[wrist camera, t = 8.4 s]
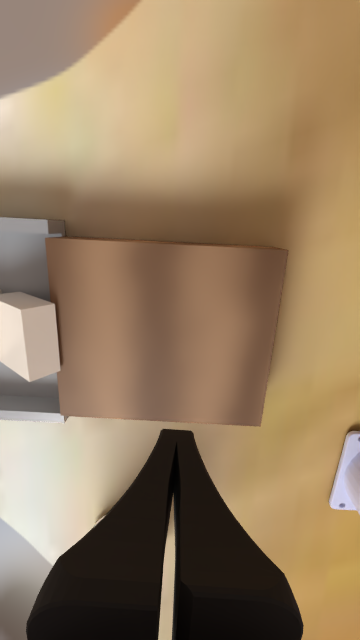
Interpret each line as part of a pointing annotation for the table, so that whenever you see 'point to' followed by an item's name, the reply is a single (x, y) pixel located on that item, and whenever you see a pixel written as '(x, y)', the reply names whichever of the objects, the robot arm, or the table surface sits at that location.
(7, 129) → the table surface
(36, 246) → the tray
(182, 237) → the table surface
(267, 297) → the brown board
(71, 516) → the table surface
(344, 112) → the table surface
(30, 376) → the tile
